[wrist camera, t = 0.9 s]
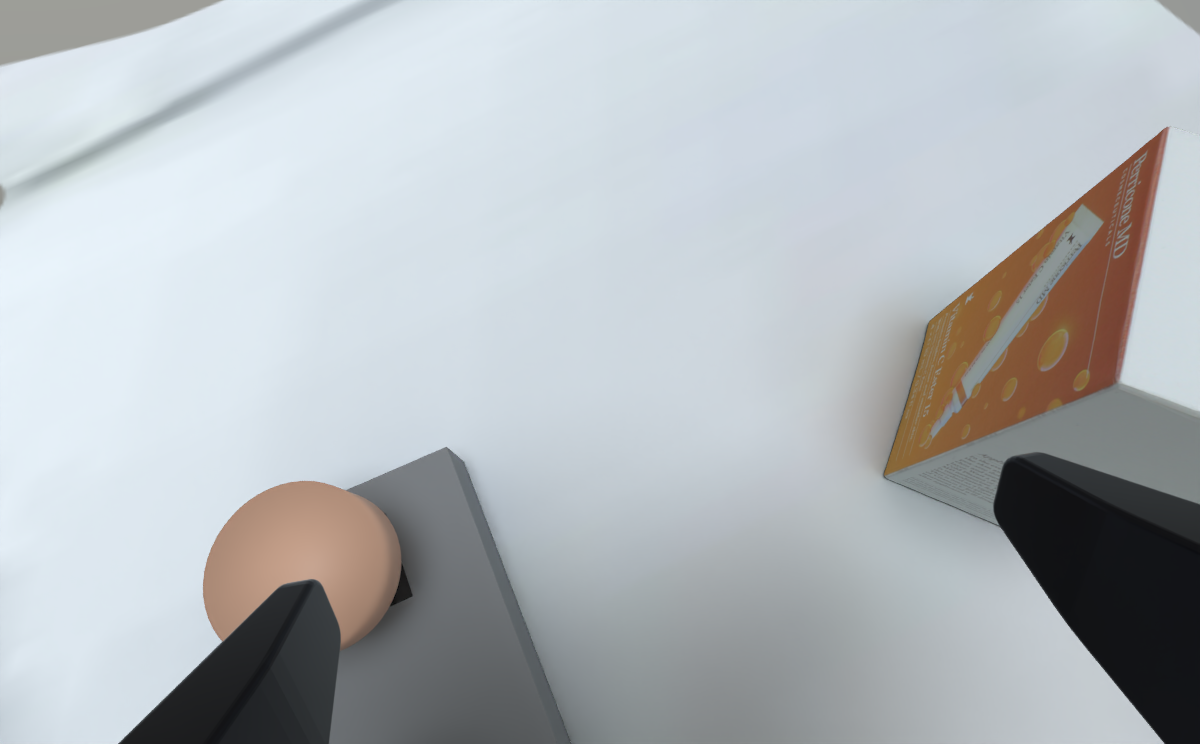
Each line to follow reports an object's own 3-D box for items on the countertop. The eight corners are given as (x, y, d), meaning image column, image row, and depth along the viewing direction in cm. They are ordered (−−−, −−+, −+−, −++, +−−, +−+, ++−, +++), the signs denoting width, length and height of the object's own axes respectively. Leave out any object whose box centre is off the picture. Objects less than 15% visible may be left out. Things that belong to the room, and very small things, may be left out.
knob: (447, 609, 22) (402, 615, 17) (311, 672, 21) (224, 698, 16) (403, 481, 23) (350, 454, 19) (275, 537, 23) (187, 523, 18)
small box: (925, 319, 28) (1168, 115, 16) (1065, 372, 27) (1438, 198, 15) (876, 480, 26) (1118, 383, 14) (1028, 544, 25) (1435, 502, 13)
